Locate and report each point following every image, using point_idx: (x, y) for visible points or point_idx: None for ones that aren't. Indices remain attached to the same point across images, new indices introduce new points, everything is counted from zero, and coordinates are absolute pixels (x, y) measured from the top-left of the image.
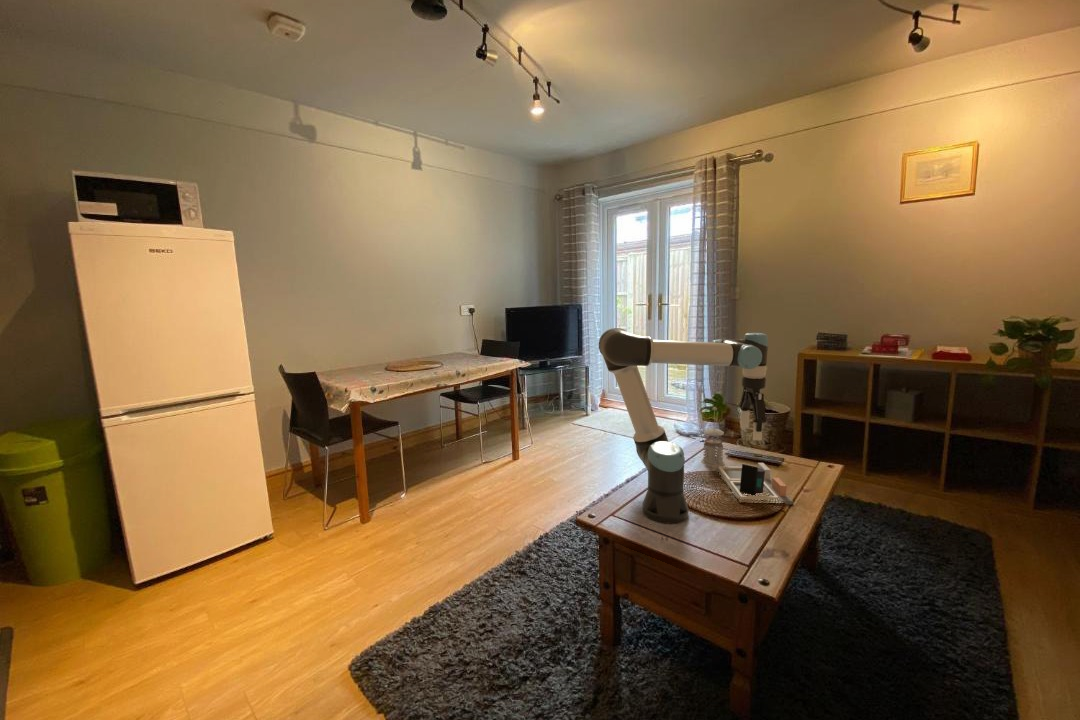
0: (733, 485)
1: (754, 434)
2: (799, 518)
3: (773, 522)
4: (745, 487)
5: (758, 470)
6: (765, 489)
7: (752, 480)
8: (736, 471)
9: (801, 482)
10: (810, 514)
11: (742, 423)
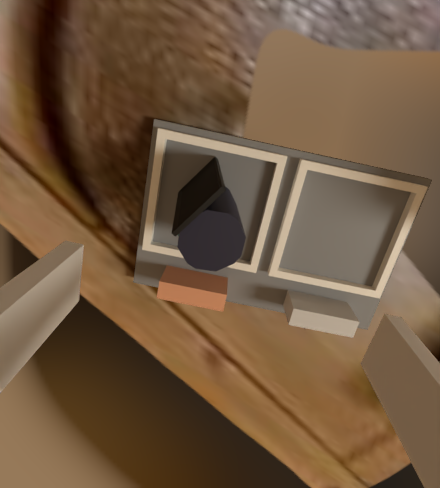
0: (248, 150)
1: (37, 265)
2: (57, 244)
3: (31, 158)
4: (203, 175)
5: (193, 241)
6: None
7: (186, 200)
8: (374, 237)
9: (262, 378)
10: None
11: (399, 347)
